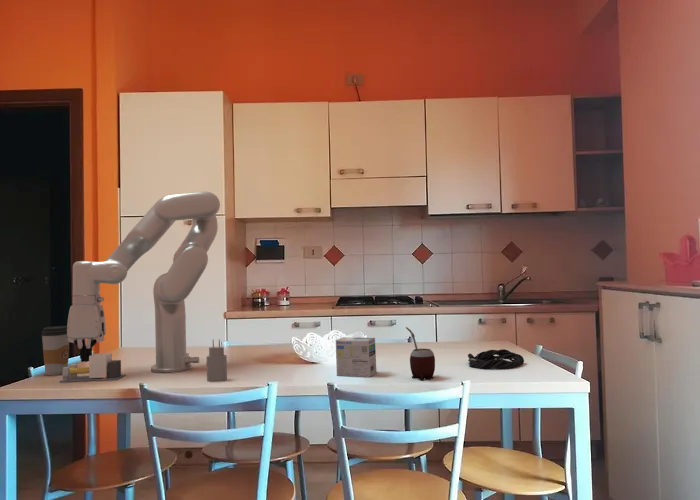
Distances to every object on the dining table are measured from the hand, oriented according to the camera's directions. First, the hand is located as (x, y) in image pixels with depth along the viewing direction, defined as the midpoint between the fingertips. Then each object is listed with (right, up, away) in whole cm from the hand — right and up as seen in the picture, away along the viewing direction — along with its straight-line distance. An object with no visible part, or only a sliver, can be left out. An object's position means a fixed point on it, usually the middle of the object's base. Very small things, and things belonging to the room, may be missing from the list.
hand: (86, 361), depth 165 cm
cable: (+127, -3, +3) cm, 127 cm away
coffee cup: (-15, -6, +10) cm, 19 cm away
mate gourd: (+101, -3, -13) cm, 102 cm away
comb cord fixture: (+2, -6, 0) cm, 6 cm away
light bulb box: (+83, -3, -5) cm, 83 cm away
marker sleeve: (+4, -5, 0) cm, 7 cm away
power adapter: (+42, -4, -7) cm, 43 cm away
